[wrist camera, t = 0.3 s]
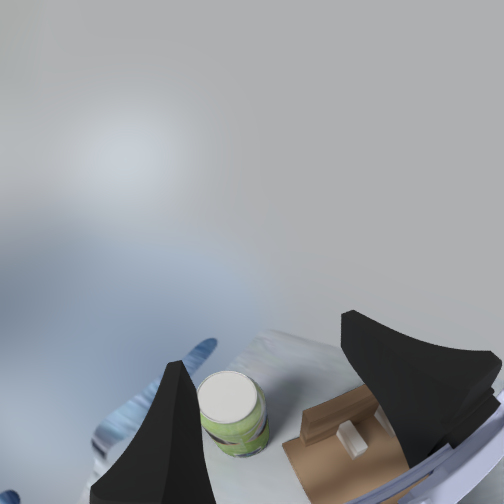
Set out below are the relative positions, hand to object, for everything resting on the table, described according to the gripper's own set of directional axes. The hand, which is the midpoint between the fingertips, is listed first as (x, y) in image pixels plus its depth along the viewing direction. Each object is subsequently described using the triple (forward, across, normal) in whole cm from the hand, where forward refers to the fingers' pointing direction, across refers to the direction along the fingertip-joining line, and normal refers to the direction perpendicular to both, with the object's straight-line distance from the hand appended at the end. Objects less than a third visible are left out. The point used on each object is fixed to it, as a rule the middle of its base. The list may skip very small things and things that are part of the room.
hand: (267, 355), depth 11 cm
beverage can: (+7, +4, +21) cm, 22 cm away
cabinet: (-2, -8, +22) cm, 23 cm away
